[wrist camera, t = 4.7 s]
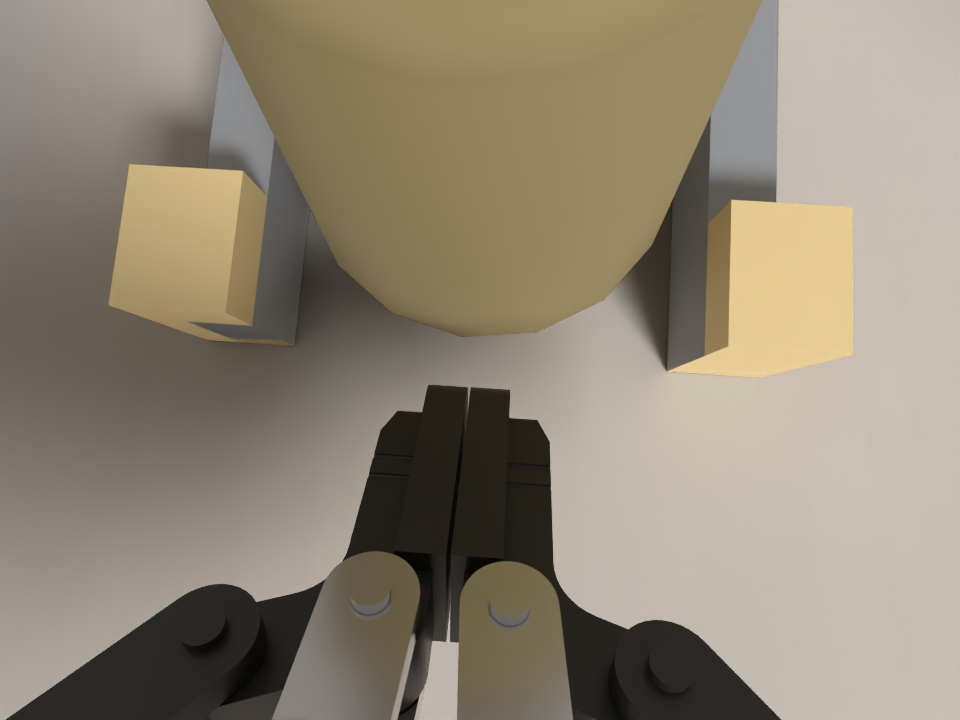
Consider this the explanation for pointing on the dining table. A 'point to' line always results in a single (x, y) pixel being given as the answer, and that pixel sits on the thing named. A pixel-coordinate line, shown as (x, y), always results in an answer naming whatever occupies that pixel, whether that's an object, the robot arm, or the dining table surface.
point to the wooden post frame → (694, 244)
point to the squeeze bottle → (487, 139)
